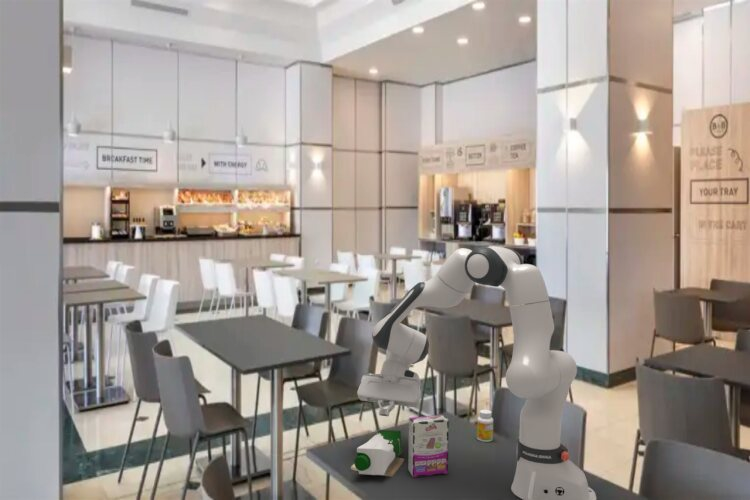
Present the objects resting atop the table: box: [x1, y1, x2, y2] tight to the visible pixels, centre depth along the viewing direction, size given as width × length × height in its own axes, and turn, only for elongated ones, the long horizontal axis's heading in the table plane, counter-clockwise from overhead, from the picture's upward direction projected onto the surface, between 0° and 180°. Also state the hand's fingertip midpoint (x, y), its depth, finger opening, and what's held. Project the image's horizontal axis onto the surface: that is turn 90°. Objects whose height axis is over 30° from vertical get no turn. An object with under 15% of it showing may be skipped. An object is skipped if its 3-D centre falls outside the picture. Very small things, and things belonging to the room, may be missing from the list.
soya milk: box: [353, 429, 403, 476], centre depth 180 cm, size 9×9×20 cm
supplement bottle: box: [476, 409, 494, 443], centre depth 206 cm, size 5×5×10 cm
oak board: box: [350, 456, 405, 478], centre depth 183 cm, size 13×12×1 cm
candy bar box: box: [407, 414, 450, 478], centre depth 178 cm, size 11×5×16 cm, turn 105°
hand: (383, 415), depth 186 cm, fingers closed
